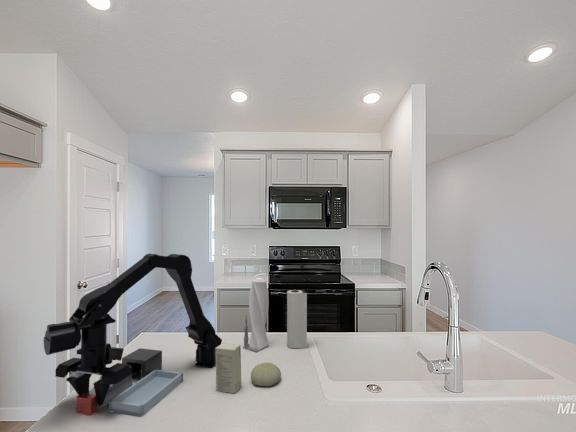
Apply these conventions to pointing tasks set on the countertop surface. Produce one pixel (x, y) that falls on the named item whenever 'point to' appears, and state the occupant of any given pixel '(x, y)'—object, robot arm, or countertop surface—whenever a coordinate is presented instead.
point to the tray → (145, 393)
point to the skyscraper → (257, 315)
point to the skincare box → (228, 367)
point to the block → (144, 361)
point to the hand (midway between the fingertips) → (93, 403)
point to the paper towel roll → (296, 319)
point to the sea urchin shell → (265, 374)
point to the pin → (88, 400)
